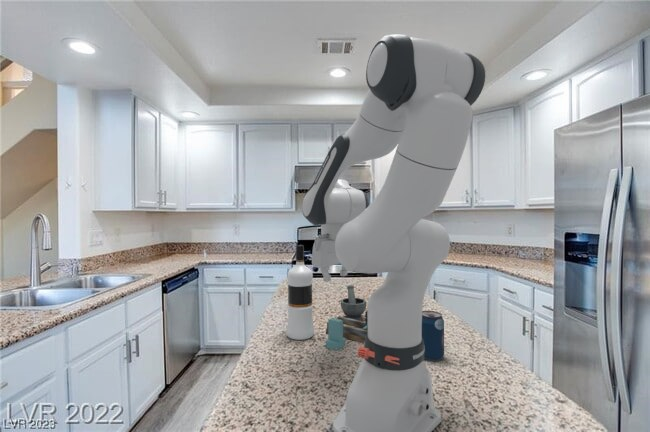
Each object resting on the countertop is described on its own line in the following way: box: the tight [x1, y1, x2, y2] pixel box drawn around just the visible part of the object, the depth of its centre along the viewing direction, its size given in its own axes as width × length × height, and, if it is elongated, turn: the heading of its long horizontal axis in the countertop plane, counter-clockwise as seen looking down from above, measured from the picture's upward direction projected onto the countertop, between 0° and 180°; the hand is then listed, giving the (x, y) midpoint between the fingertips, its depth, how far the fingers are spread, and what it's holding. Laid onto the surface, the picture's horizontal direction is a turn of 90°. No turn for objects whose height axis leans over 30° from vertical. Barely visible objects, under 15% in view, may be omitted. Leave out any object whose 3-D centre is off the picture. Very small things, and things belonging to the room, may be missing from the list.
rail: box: [325, 310, 368, 344], centre depth 103 cm, size 18×9×10 cm, turn 56°
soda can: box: [422, 310, 445, 362], centre depth 87 cm, size 7×7×12 cm
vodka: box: [285, 244, 315, 341], centre depth 103 cm, size 9×9×30 cm
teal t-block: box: [325, 317, 347, 351], centre depth 94 cm, size 5×4×8 cm
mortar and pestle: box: [340, 284, 367, 321], centre depth 120 cm, size 11×9×12 cm
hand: (335, 278), depth 95 cm, fingers open, 8 cm apart
